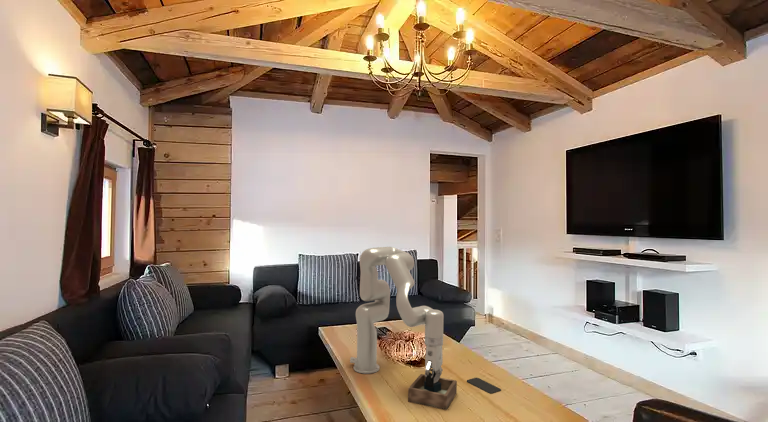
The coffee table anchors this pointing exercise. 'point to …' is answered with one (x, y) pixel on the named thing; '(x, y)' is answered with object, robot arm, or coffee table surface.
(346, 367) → the coffee table surface
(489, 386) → the phone
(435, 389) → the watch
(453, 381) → the box
